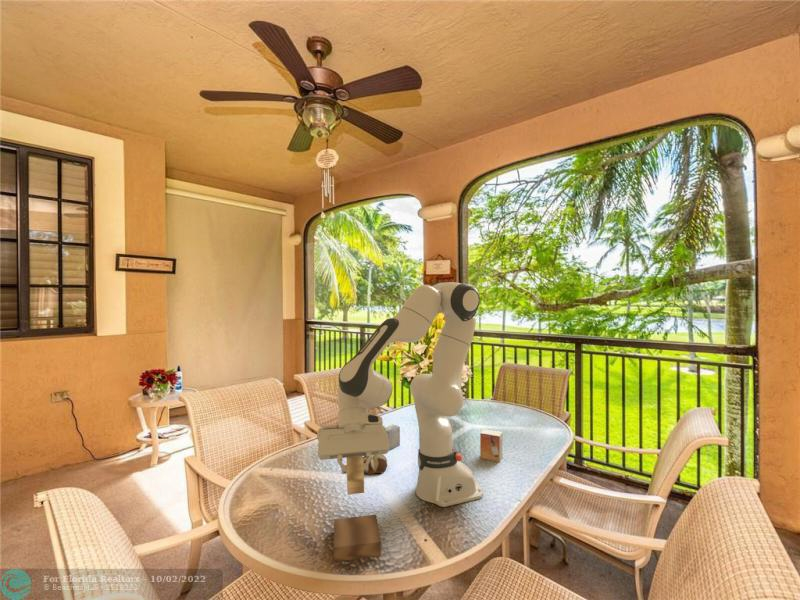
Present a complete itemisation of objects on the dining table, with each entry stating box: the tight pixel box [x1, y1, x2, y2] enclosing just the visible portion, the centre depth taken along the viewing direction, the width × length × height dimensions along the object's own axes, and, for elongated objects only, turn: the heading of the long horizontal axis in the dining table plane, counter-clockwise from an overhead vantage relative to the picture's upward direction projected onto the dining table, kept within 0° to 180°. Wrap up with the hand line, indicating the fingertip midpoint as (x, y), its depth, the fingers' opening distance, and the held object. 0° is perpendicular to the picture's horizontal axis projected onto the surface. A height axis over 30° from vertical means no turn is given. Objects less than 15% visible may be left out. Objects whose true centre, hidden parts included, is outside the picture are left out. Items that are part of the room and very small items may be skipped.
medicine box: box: [384, 424, 401, 451], centre depth 163 cm, size 8×4×9 cm, turn 141°
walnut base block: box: [333, 514, 382, 563], centre depth 100 cm, size 12×12×4 cm
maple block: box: [346, 456, 365, 495], centre depth 100 cm, size 4×4×8 cm
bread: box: [363, 454, 388, 475], centre depth 143 cm, size 11×11×5 cm
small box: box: [479, 428, 504, 463], centre depth 151 cm, size 8×6×10 cm
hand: (355, 472), depth 100 cm, fingers closed on maple block, 4 cm apart
